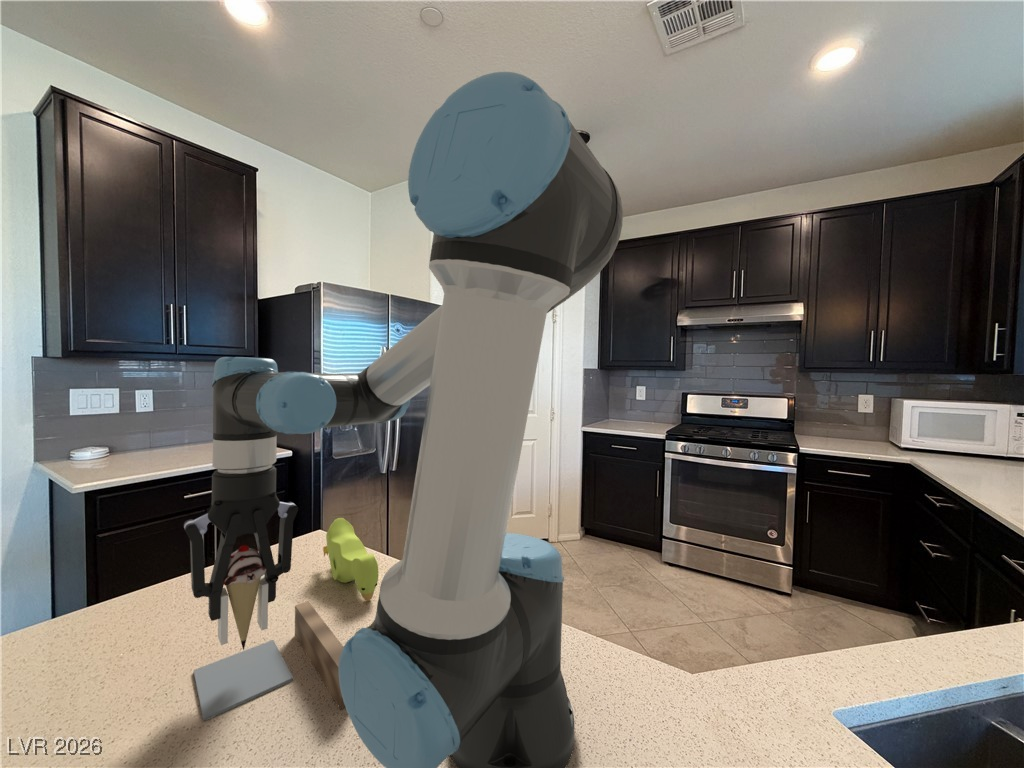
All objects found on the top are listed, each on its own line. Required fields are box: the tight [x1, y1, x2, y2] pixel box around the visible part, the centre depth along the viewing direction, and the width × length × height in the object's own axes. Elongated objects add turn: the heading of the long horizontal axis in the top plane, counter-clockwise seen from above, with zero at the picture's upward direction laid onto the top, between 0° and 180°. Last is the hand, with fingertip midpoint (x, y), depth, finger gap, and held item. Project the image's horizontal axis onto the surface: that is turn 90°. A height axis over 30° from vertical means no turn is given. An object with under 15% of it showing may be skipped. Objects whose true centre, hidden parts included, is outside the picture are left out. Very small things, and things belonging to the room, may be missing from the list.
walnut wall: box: [294, 600, 346, 710], centre depth 59 cm, size 20×2×5 cm, turn 43°
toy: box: [322, 517, 379, 602], centre depth 83 cm, size 6×17×20 cm
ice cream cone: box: [222, 544, 266, 651], centre depth 56 cm, size 6×6×15 cm
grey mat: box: [193, 639, 294, 722], centre depth 57 cm, size 11×10×1 cm
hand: (243, 631), depth 57 cm, fingers closed on ice cream cone, 4 cm apart
